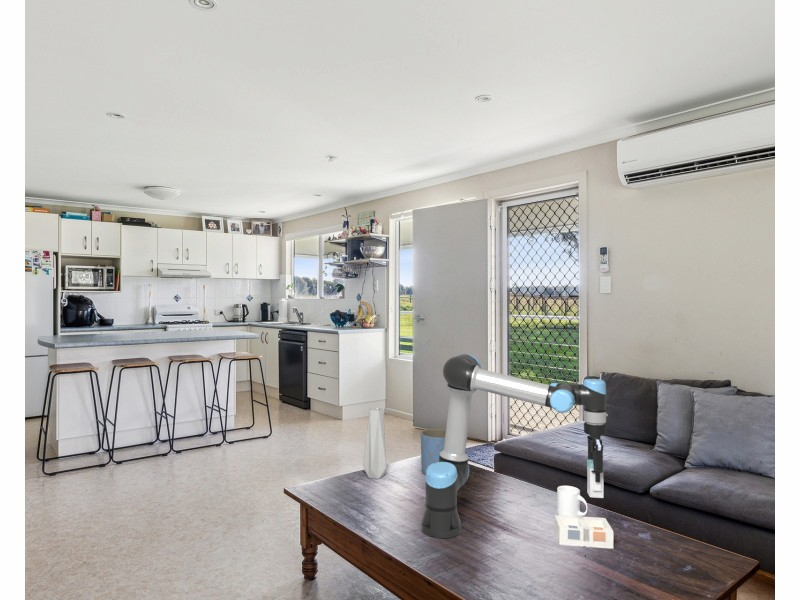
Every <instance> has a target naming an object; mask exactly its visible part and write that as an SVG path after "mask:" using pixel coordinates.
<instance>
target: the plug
mask: <svg viewBox="0 0 800 600" xmlns="http://www.w3.org/2000/svg"><path fill="white" fill-rule="evenodd" d="M604 466H605V465H604V463H603V470H604ZM586 467H587V468H586V470H587V471H586V473H587V477H586V478H587V481H586V482H587V485H586V487H587V488H586V489H587V492H586V493H587V494H588V496H589V497H590V498H595V499H596V498H598V499H604V472H603V473H601V491H593V473H592V472H591V471H593V470H594V469H593V460H588V458H587V459H586Z"/></svg>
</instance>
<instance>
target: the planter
mask: <svg viewBox="0 0 800 600" xmlns="http://www.w3.org/2000/svg"><path fill="white" fill-rule="evenodd" d="M445 435H446V428H441V427H440V428H438V427H437V428H433V427H432V428H427V429H423V430H421V431H420V459H421V471H422V474H423V475H424V476H425V477H426V470H427V468H428V466H430V465H431V464H433V463H436V462H439V454H440V452H441V451H442V450H444V444H445Z"/></svg>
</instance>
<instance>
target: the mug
mask: <svg viewBox="0 0 800 600" xmlns="http://www.w3.org/2000/svg"><path fill="white" fill-rule="evenodd" d="M556 490H557V492H556V510H557V511H556V512H557V514H556V515H566V516H582V517H585V516H586V514H587V512H588V503H587V501H586V500H585V498H584V497H583V496H581V489H579V488H577V487H575V486H571V485H560V486H559V485H558V487H557V488H556ZM581 502H582V503H584V505H585V507H586V509H585V511H584V512H582V511H581Z"/></svg>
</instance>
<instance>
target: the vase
mask: <svg viewBox="0 0 800 600" xmlns="http://www.w3.org/2000/svg"><path fill="white" fill-rule="evenodd" d="M384 413H385V412H384V408H380V407H371V408H370V409H369V413H368V421H367V428H366V436H365V443H364V451H363V458H362V468H363V470H364V471H365V474H366V475H367V477H368V479H373V480H375V479H376V480H378V479H381V478H383V477H385V474H386V471H387V448H386V447H387V446H386V435H385V434H386V432H385V414H384Z"/></svg>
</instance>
